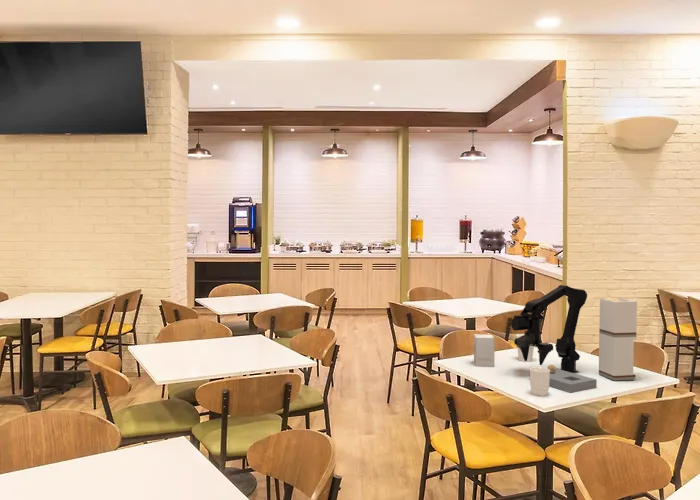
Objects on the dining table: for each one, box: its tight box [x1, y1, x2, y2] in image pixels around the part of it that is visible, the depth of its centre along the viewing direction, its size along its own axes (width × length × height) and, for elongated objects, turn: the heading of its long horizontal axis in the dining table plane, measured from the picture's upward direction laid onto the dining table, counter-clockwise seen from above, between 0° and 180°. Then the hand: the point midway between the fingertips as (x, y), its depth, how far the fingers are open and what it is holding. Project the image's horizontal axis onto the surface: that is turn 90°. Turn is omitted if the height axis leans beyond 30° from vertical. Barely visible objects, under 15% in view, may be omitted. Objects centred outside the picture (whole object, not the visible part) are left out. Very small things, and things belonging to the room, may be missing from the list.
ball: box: [547, 364, 557, 373], centre depth 254 cm, size 4×4×4 cm
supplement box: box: [473, 333, 495, 368], centre depth 280 cm, size 9×9×15 cm
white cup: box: [529, 366, 550, 397], centre depth 234 cm, size 8×8×10 cm
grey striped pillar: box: [598, 297, 638, 381], centre depth 260 cm, size 11×11×35 cm
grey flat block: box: [549, 368, 598, 394], centre depth 248 cm, size 16×22×4 cm
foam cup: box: [515, 333, 535, 363], centre depth 291 cm, size 10×9×13 cm
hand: (533, 362), depth 263 cm, fingers open, 9 cm apart
